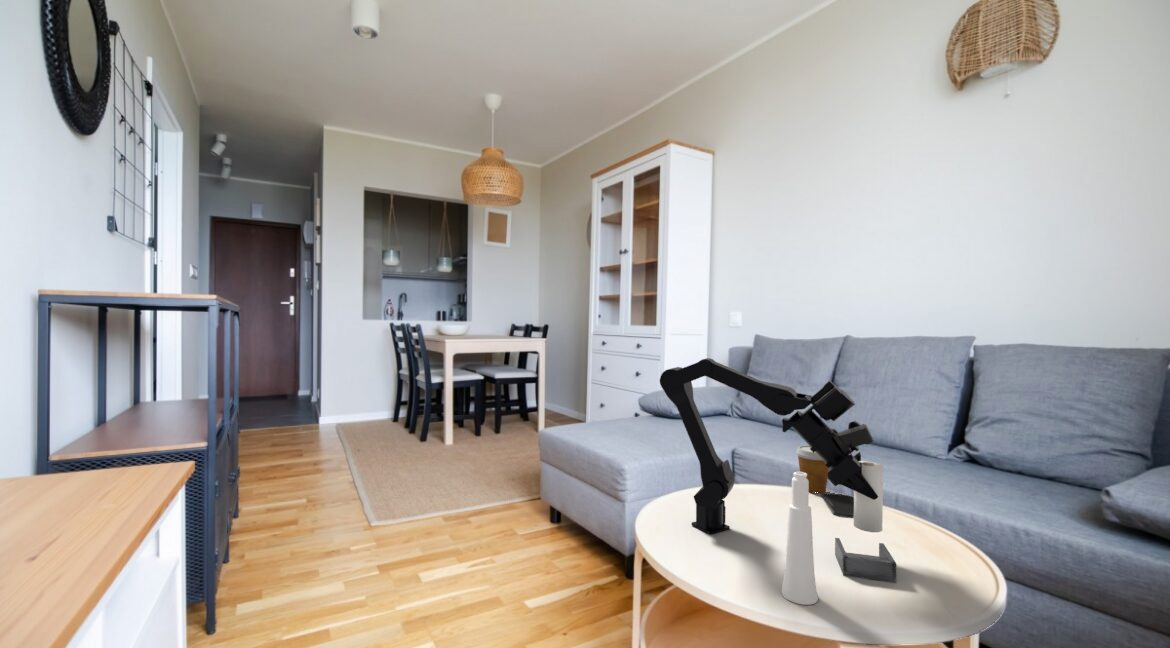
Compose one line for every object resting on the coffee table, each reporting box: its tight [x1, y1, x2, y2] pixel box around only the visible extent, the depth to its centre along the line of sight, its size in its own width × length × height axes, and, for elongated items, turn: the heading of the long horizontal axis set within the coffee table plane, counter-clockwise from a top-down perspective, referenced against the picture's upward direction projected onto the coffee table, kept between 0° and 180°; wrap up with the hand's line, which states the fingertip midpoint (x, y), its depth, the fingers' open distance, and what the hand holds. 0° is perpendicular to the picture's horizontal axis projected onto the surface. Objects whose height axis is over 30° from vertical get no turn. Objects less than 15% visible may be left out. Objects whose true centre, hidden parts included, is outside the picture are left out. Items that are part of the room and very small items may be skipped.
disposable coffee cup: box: [795, 444, 829, 494], centre depth 147 cm, size 10×10×12 cm
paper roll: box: [853, 460, 884, 533], centre depth 105 cm, size 5×5×13 cm
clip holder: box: [834, 537, 897, 583], centre depth 101 cm, size 9×9×4 cm
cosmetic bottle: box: [781, 471, 819, 606], centre depth 90 cm, size 6×6×22 cm
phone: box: [821, 493, 854, 519], centre depth 134 cm, size 8×1×15 cm
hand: (875, 494), depth 104 cm, fingers closed on paper roll, 5 cm apart
